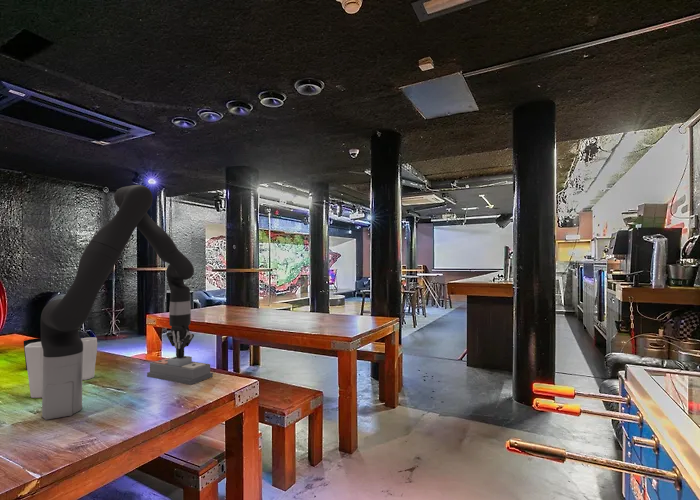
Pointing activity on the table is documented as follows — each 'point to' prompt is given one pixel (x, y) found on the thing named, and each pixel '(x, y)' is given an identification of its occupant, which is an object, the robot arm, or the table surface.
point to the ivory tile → (193, 365)
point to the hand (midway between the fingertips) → (180, 357)
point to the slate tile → (179, 361)
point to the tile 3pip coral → (162, 361)
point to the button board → (179, 373)
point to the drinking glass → (89, 357)
